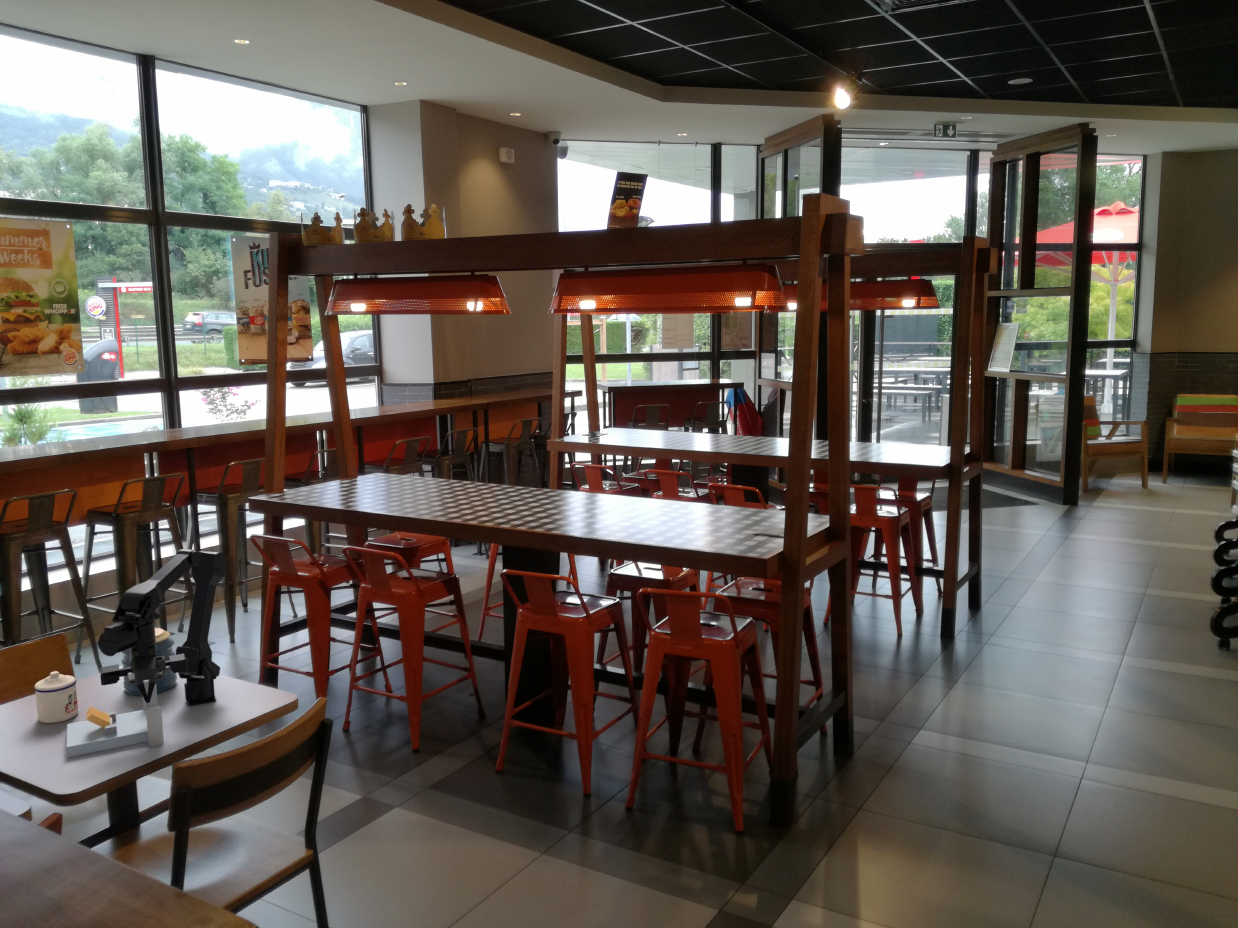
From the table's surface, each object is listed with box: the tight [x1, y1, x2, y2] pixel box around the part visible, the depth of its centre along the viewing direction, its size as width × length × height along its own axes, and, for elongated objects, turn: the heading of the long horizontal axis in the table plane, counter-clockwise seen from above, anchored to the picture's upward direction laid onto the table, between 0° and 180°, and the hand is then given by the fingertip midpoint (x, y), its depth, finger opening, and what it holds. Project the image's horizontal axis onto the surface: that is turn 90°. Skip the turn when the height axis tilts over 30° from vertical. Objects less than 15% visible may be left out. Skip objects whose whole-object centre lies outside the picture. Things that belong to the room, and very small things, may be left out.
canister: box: [121, 627, 178, 696], centre depth 246 cm, size 13×13×18 cm
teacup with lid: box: [33, 670, 79, 724], centre depth 230 cm, size 12×9×12 cm
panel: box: [66, 709, 148, 758], centre depth 218 cm, size 18×14×4 cm
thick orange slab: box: [86, 706, 110, 728], centre depth 216 cm, size 2×5×5 cm
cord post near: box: [146, 704, 165, 748], centre depth 214 cm, size 3×3×9 cm
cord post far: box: [142, 680, 159, 710], centre depth 230 cm, size 3×3×9 cm
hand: (147, 702), depth 221 cm, fingers closed
